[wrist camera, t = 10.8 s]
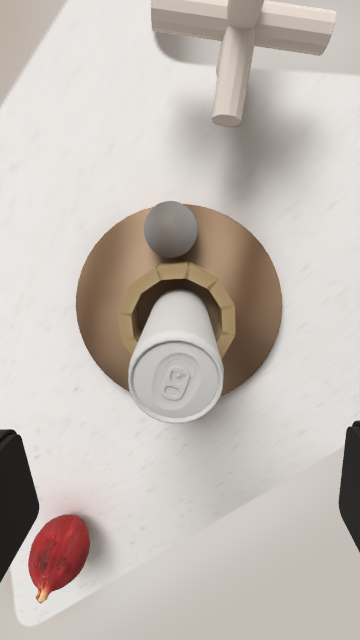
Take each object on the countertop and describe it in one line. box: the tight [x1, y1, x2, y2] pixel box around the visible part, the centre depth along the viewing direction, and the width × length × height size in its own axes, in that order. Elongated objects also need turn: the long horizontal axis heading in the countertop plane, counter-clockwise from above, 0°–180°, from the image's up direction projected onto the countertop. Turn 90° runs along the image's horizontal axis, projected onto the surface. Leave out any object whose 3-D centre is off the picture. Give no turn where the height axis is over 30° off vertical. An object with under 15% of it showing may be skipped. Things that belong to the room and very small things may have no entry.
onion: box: [28, 515, 90, 603], centre depth 30 cm, size 6×6×8 cm
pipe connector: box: [151, 0, 336, 127], centre depth 16 cm, size 10×10×10 cm
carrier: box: [76, 201, 282, 396], centre depth 24 cm, size 18×18×4 cm
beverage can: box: [128, 289, 224, 423], centre depth 19 cm, size 5×5×12 cm
